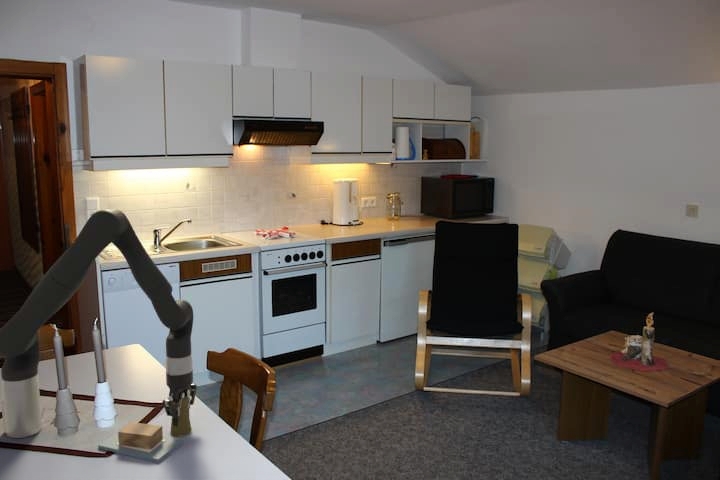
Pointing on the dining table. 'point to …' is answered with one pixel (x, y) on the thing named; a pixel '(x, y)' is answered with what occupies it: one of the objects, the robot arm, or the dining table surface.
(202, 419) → the dining table surface
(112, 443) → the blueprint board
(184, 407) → the olive pawn
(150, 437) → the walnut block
